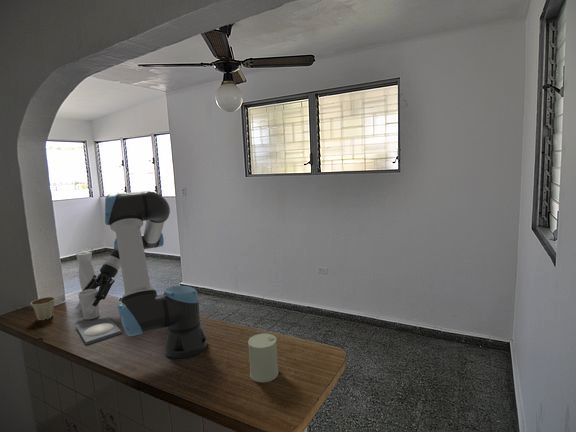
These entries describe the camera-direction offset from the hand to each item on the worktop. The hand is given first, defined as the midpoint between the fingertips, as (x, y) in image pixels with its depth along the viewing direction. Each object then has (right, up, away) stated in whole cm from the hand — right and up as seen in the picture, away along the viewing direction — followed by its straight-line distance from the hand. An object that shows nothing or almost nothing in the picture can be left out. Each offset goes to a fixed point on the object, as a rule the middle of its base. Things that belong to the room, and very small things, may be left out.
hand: (83, 310), depth 157 cm
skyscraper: (-12, -1, +26) cm, 29 cm away
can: (+86, -8, -46) cm, 98 cm away
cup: (+2, -4, +4) cm, 6 cm away
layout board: (+13, -6, -11) cm, 18 cm away
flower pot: (-21, -5, +5) cm, 22 cm away
